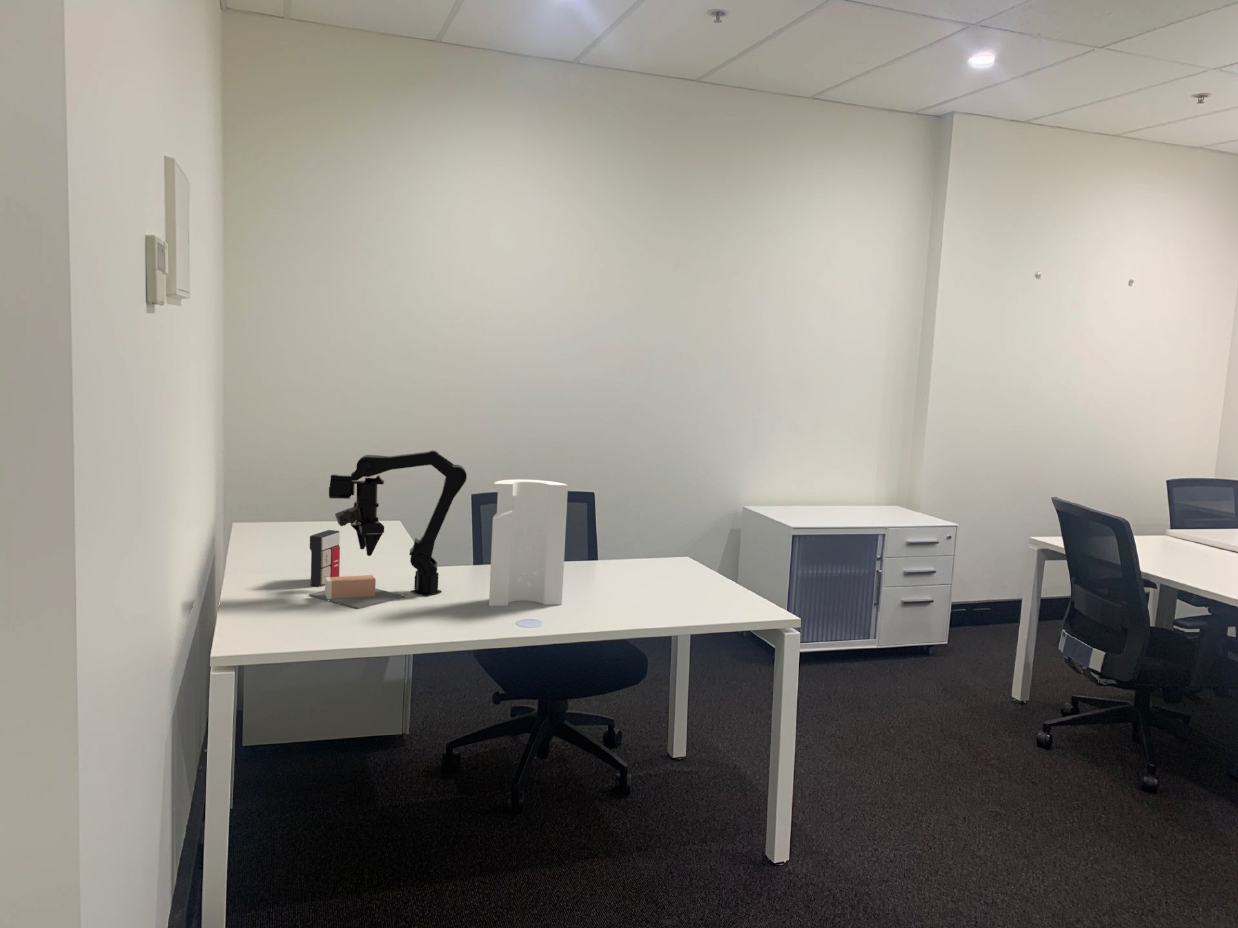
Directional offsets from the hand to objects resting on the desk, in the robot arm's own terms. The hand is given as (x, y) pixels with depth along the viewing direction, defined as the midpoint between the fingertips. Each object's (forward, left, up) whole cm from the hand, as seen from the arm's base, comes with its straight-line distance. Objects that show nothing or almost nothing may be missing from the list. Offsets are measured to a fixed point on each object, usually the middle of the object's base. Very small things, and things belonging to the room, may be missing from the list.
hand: (365, 552), depth 255 cm
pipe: (-39, -25, -12) cm, 48 cm away
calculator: (+17, 0, -12) cm, 21 cm away
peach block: (-4, +1, -9) cm, 10 cm away
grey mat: (-2, +4, -12) cm, 13 cm away
